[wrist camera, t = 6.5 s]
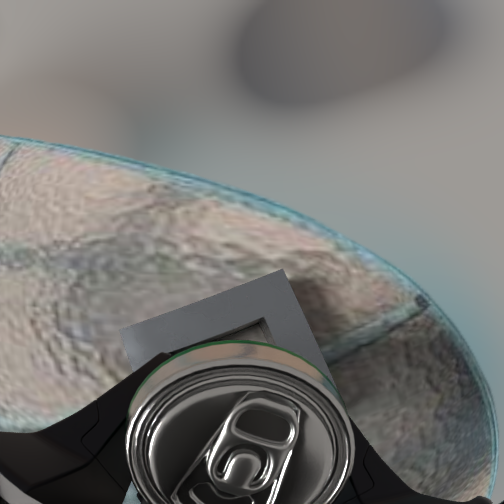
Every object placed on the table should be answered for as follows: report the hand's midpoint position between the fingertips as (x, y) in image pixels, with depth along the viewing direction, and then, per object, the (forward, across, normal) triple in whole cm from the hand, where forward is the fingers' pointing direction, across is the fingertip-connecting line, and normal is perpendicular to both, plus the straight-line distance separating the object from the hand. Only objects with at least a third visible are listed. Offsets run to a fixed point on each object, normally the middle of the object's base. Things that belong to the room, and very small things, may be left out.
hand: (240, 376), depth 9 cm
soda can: (+4, 0, +6) cm, 7 cm away
